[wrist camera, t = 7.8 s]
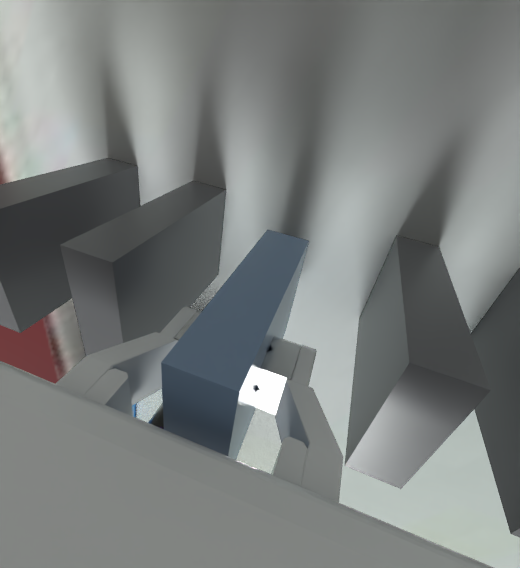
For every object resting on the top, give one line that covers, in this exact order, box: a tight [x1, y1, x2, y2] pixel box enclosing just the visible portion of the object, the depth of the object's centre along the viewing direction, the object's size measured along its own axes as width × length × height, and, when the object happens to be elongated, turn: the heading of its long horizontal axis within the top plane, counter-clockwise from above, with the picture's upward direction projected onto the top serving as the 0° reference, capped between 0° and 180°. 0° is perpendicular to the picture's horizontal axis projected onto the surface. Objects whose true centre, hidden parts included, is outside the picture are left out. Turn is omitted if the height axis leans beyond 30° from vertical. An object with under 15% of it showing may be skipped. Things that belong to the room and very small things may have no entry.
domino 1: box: [0, 158, 140, 333], centre depth 15 cm, size 2×5×8 cm, turn 171°
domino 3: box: [161, 230, 309, 460], centre depth 11 cm, size 2×5×8 cm, turn 171°
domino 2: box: [60, 181, 226, 356], centre depth 14 cm, size 2×5×8 cm, turn 171°
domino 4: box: [345, 235, 491, 489], centre depth 12 cm, size 2×5×8 cm, turn 171°
